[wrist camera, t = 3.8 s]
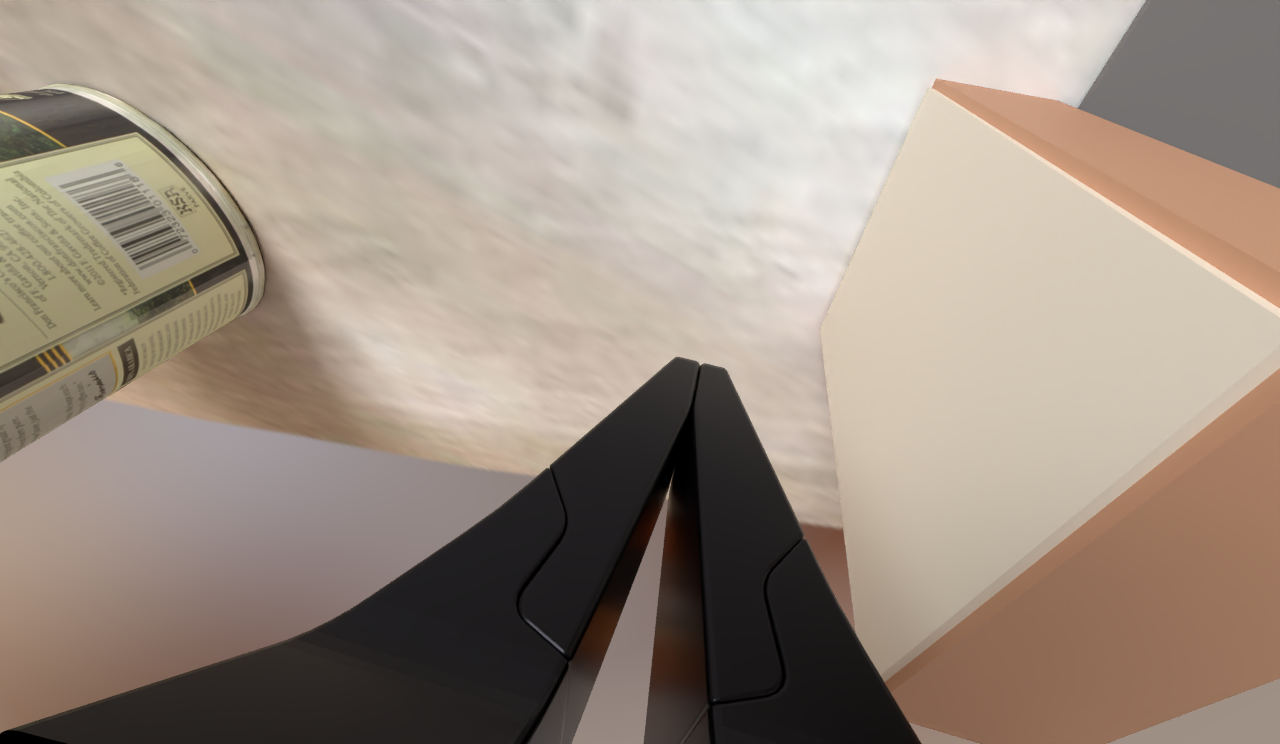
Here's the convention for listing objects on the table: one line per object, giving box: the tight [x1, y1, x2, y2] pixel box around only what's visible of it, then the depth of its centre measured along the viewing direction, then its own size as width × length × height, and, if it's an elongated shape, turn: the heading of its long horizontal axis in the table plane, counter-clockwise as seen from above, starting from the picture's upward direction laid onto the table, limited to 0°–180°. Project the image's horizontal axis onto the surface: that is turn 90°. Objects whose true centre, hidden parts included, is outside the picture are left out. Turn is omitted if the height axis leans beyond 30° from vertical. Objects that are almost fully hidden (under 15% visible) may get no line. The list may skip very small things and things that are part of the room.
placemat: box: [1078, 0, 1280, 189], centre depth 14 cm, size 13×14×1 cm
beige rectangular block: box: [820, 79, 1280, 744], centre depth 10 cm, size 3×8×12 cm, turn 172°
